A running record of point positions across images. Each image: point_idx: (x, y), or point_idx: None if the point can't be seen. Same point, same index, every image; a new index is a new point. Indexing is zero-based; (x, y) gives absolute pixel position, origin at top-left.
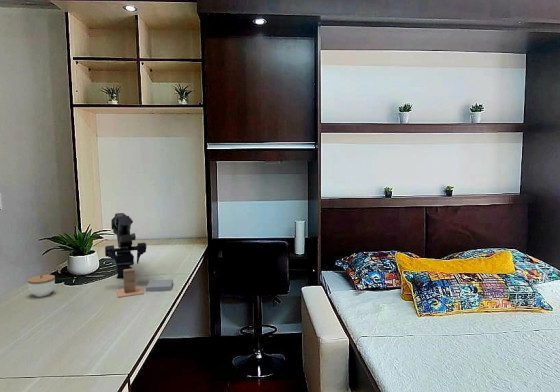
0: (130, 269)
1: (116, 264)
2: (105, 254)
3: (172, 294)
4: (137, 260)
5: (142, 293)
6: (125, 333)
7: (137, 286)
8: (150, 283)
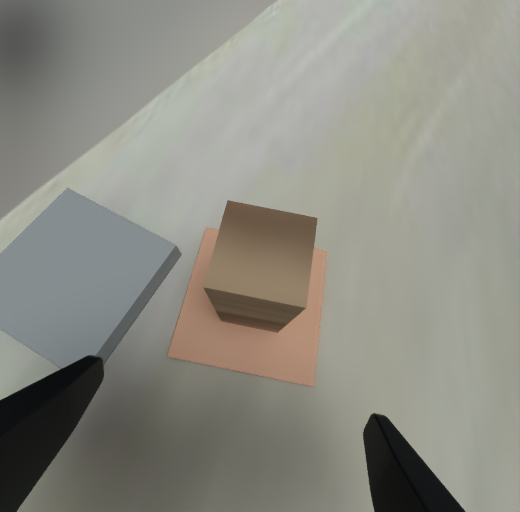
0: (242, 266)
1: (390, 429)
2: None
3: (109, 153)
4: (73, 373)
5: (212, 228)
6: (352, 10)
7: (186, 359)
8: (117, 302)
